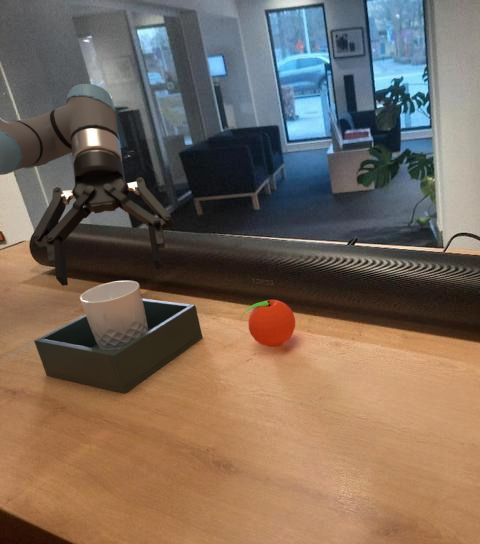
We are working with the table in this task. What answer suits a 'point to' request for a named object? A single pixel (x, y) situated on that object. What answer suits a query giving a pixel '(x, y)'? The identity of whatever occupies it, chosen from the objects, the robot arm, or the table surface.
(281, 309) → the clementine
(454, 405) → the table surface
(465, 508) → the table surface
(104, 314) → the white cup
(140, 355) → the open dark box
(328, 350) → the table surface
